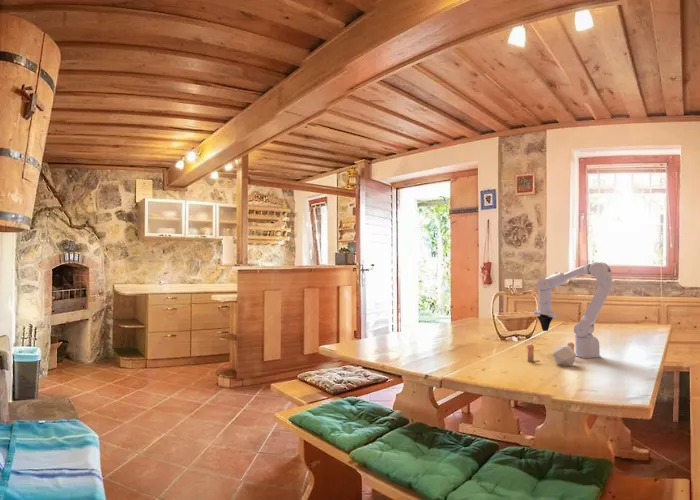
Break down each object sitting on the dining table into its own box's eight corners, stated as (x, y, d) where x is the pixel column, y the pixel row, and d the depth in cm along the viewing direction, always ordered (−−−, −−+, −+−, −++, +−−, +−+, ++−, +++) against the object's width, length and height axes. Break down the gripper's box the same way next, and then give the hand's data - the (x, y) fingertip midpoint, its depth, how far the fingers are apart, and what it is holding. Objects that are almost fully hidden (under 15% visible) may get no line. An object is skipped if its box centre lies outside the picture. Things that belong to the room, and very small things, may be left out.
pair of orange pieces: (571, 358, 190) (571, 341, 190) (576, 360, 187) (575, 342, 188) (525, 360, 186) (525, 343, 186) (529, 362, 183) (529, 344, 183)
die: (576, 365, 180) (562, 344, 185) (584, 359, 172) (569, 337, 178) (559, 373, 179) (545, 352, 184) (566, 367, 171) (551, 345, 177)
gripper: (528, 301, 215) (529, 328, 214) (547, 304, 200) (547, 333, 200) (541, 301, 216) (541, 328, 215) (560, 304, 202) (560, 332, 201)
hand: (545, 330), depth 208 cm, fingers closed
